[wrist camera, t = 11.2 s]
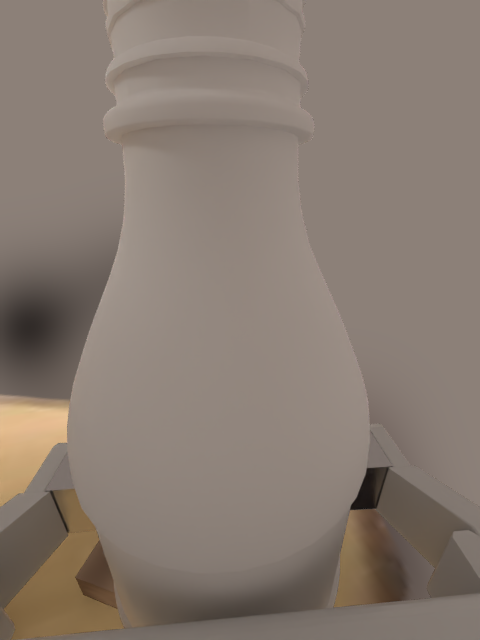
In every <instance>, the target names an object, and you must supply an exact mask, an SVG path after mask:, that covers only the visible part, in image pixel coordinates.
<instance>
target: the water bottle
mask: <svg viewBox="0 0 480 640" xmlns="http://www.w3.org/2000/svg"><path fill="white" fill-rule="evenodd" d="M305 3H306V0H103V8H104V13H105V14H106V16H107V20H106V22H105V25H106V32H107V35H108V39H109V41H110V45H111V48H112V50H113V55H114V59H112V61H111V63H110V64H109V66H108V68H107V71H106V77H105V82H106V86H107V88H108V90H109V91H111V92H112V93H113V94H114V95H115V96H116V103H117V105H116V106H115V107H113V108H111V109H110V110H108V112H107V113H106V115H105V116H104V117H103V126H104V132H105V136H106V138H107V139H109V140H110V141H112V142H114V143H117V144H121V145H122V150H123V161H124V172H125V198H124V199H125V200H124V218H123V225H122V230H121V236H120V242H119V248H118V251H117V255H116V257H115V261H114V264H113V267H112V270H111V273H110V276H109V279H108V282H107V285H106V287H105V290H104V293H103V296H102V298H101V301H100V304H99V306H98V309H97V312H96V314H95V317H94V320H93V323H92V325H91V328H90V330H89V334H88V337H87V340H86V343H85V346H84V350H83V353H82V357H81V360H80V363H79V366H78V370H77V373H76V376H75V379H74V383H73V388H72V394H71V399H70V405H69V414H68V424H67V452H68V458H69V463H70V469H71V475H72V481H73V485H74V488H75V491H76V494H77V497H78V499H79V502H80V505H81V508H82V509H83V511H84V512H85V514H86V515H87V516H88V518H89V519H90V520H91V522H92V523H93V524H94V526H95V527H96V530H97V533H98V536H99V539H100V542H101V545H102V548H103V551H104V554H105V557H106V560H107V562H108V565H109V568H110V571H111V574H112V577H113V580H114V591H115V598H116V604H117V608H118V611H119V615H120V619H121V621H122V624H123V626H124V629H125V628H135V627H145V626H155V625H165V624H175V623H185V622H195V621H205V620H215V619H225V618H235V617H245V616H255V615H265V614H275V613H285V612H295V611H305V610H315V609H325V608H334V604H335V599H336V595H337V591H338V584H339V576H340V552H341V547H342V543H343V538H344V534H345V529H346V525H347V521H348V516H349V512H350V507H351V504H352V503H353V502H354V500H355V499H356V497H357V495H358V492H359V490H360V487H361V485H362V482H363V479H364V477H365V474H366V469H367V461H368V453H369V445H370V419H369V407H368V396H367V393H366V389H365V385H364V381H363V377H362V373H361V370H360V367H359V364H358V361H357V358H356V356H355V353H354V350H353V347H352V345H351V342H350V339H349V337H348V334H347V331H346V329H345V326H344V324H343V321H342V318H341V316H340V314H339V311H338V309H337V307H336V305H335V302H334V300H333V298H332V296H331V293H330V291H329V289H328V287H327V284H326V282H325V280H324V278H323V275H322V273H321V271H320V268H319V266H318V264H317V261H316V259H315V257H314V254H313V252H312V249H311V247H310V244H309V240H308V235H307V231H306V228H305V223H304V219H303V215H302V208H301V199H300V190H299V181H298V145H300V144H303V143H306V142H308V141H309V140H311V139H312V137H313V134H314V120H313V118H312V116H311V115H310V114H309V113H308V112H307V111H306V110H304V109H303V108H301V107H300V98H302V97H303V96H304V95H305V93H306V92H307V91H308V78H307V73H306V70H305V69H304V68H303V67H302V66H301V64H300V63H299V60H300V44H301V37H302V34H303V32H304V29H305V17H304V14H303V11H302V9H303V7H304V5H305Z"/></svg>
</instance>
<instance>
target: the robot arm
mask: <svg viewBox="0 0 480 640" xmlns="http://www.w3.org/2000/svg"><path fill="white" fill-rule="evenodd" d="M361 509H376V511H377V512H378V513H379V514H380V515H381V516H382V517H383V518H384V519H385V520H386V521H388V522H389V523H390V524H391V525H392V526H393V527H394V528H395V529H396V530H397V531H398V532H399V533H400V534H401V535H402V536H403V537H404V538H405V539H406V540H407V541H408V542H409V543H410V544H411V545H412V546H413V547H414V548H415V549H416V550H417V551H418V552H419V553H420V554H421V555H422V556H423V557H424V558H425V559H426V560H427V561H428V562H429V563H430V564H431V565H432V566H433V567H434V568H435V570H434V572H433V575H432V576H431V578H430V580H429V582H428V585H427V591H428V593H429V595H430V596H431V598H425V599H416V600H405V601H395V602H385V603H375V604H365V605H355V606H345V607H335V608H325V609H315V610H305V611H295V612H285V613H275V614H265V615H255V616H245V617H235V618H225V619H215V620H205V621H195V622H185V623H175V624H165V625H155V626H145V627H135V628H125V629H115V630H105V631H95V632H85V633H75V634H65V635H55V636H45V637H35V638H25V639H15V640H480V507H479V506H477V505H476V504H474V503H473V502H471V501H470V500H468V499H467V498H465V497H464V496H462V495H460V494H459V493H457V492H456V491H454V490H452V489H451V488H450V487H448V486H447V485H445V484H443V483H442V482H440V481H439V480H437V479H436V478H434V477H433V476H431V475H430V474H428V473H426V472H425V471H423V470H422V469H420V468H419V467H417V466H411V465H410V464H409V462H408V461H407V459H406V458H405V457H404V455H403V454H402V452H401V451H400V449H399V448H398V447H397V445H396V444H395V442H394V441H393V439H392V438H391V437H390V435H389V434H388V433H387V431H386V429H385V428H384V427H383V426H382V425H381V424H370V445H369V453H368V461H367V469H366V474H365V477H364V479H363V482H362V485H361V487H360V490H359V492H358V495H357V497H356V499H355V500H354V502H353V503H352V504H351V507H350V510H361ZM94 530H96V527H95V526H94V524H93V523H92V522H91V520H90V519H89V518H88V516H87V515H86V514H85V512H84V511H83V509H82V508H81V505H80V502H79V499H78V497H77V494H76V491H75V488H74V485H73V481H72V475H71V469H70V463H69V458H68V452H67V443H58V444H56V445H55V446H54V447H53V448H52V450H51V451H50V453H49V454H48V456H47V457H46V459H45V461H44V462H43V464H42V465H41V467H40V469H39V470H38V472H37V473H36V475H35V476H34V478H33V480H32V481H31V483H30V484H29V486H28V487H27V489H26V491H25V492H24V493H20V494H17V495H16V496H15V497H13V498H12V499H11V500H9V501H8V502H7V503H5V504H4V505H3V506H1V507H0V640H11V638H12V635H13V633H14V631H15V627H14V623H13V622H12V620H11V619H10V618H9V616H8V615H7V614H6V612H5V611H4V608H5V607H6V606H7V604H8V603H9V602H10V601H11V600H12V599H13V598H14V597H15V595H16V594H17V593H18V592H19V591H20V590H21V589H22V587H23V586H24V585H25V584H26V583H27V582H28V581H29V579H30V578H31V577H32V576H33V575H34V574H35V573H36V571H37V570H38V569H39V568H40V567H41V566H42V565H43V563H44V562H45V561H46V560H47V559H48V558H49V557H50V556H51V554H52V553H53V552H54V551H55V550H56V549H57V548H58V546H59V545H60V544H61V543H62V542H63V541H64V540H65V538H66V537H67V536H68V533H75V532H85V531H94Z"/></svg>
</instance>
